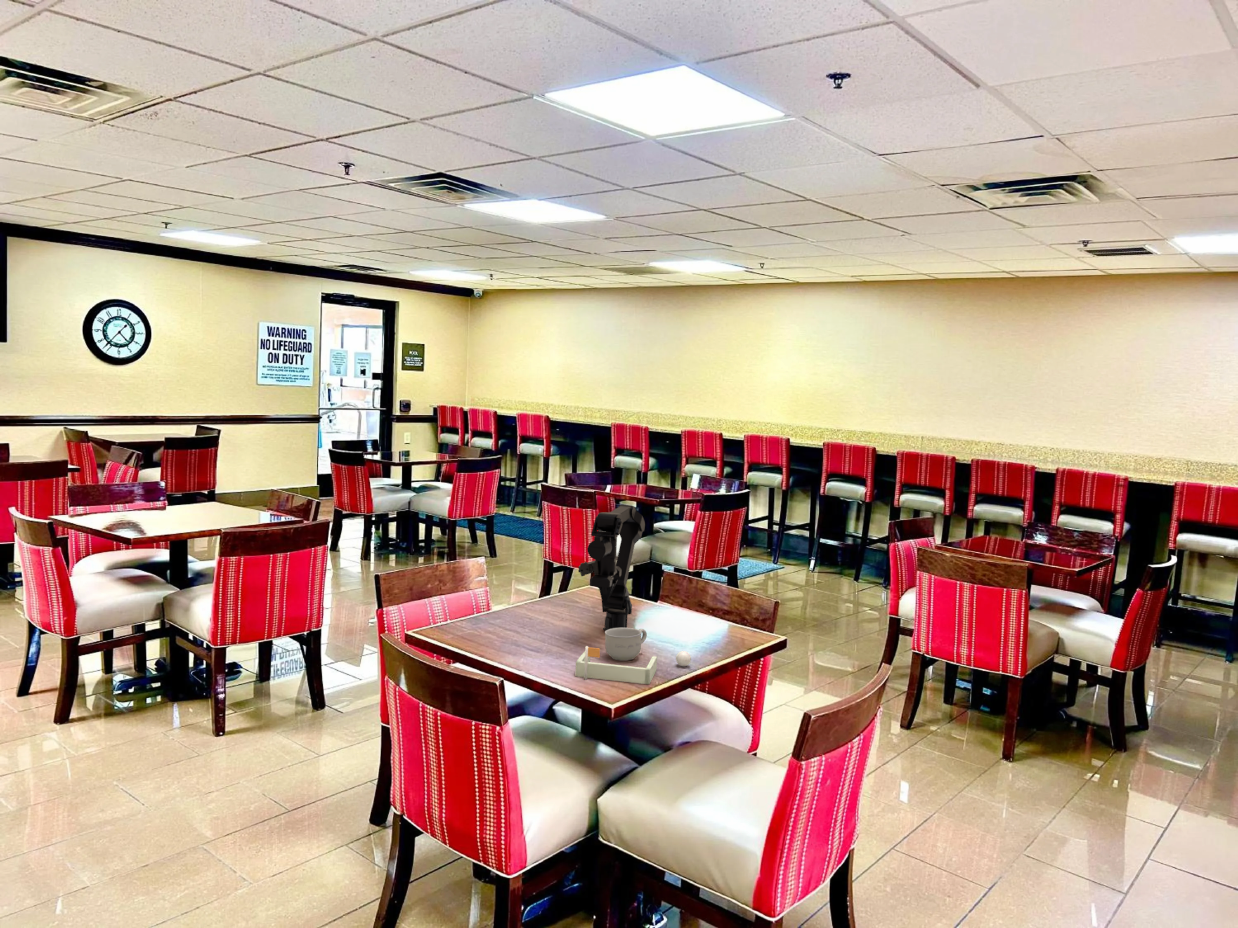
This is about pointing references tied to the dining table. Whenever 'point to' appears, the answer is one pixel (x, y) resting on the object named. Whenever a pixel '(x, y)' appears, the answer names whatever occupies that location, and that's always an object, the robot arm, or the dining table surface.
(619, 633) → the teacup
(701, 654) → the dining table surface
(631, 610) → the robot arm
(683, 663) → the golf ball
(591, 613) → the dining table surface
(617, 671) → the corral
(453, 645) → the dining table surface
